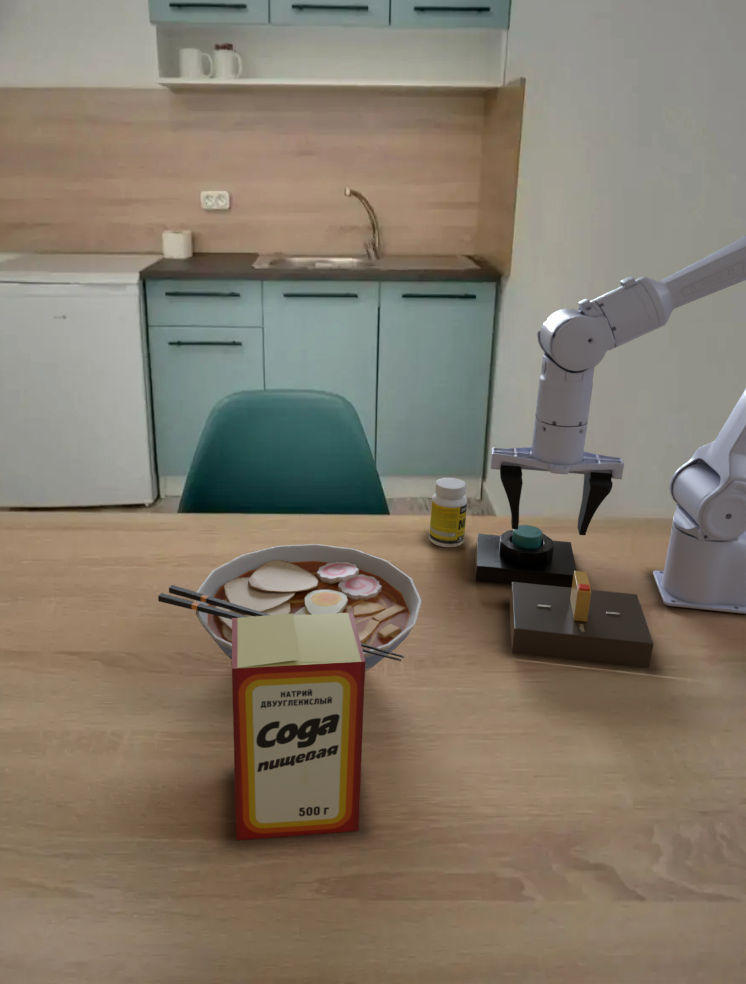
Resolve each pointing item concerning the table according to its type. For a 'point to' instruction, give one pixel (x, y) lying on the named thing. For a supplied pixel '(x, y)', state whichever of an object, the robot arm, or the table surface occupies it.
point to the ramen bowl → (308, 593)
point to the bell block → (523, 561)
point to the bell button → (527, 537)
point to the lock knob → (580, 596)
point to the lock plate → (579, 626)
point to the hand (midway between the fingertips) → (547, 528)
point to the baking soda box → (297, 724)
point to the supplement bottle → (448, 513)
